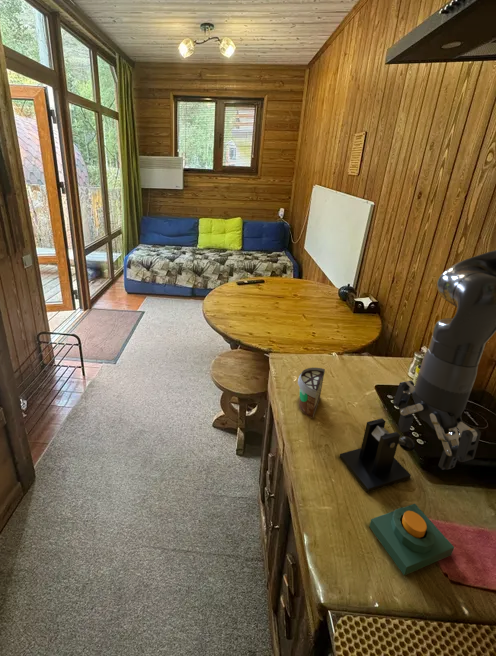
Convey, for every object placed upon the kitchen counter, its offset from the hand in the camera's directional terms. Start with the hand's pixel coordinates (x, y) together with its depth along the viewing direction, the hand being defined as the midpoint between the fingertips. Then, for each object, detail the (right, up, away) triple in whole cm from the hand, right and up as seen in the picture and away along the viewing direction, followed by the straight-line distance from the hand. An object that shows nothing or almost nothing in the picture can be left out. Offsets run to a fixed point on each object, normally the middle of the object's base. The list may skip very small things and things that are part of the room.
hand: (422, 447), depth 59 cm
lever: (+1, -6, +12) cm, 14 cm away
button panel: (-3, -17, -1) cm, 17 cm away
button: (-3, -14, -2) cm, 14 cm away
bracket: (-3, -12, +13) cm, 18 cm away
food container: (-12, -6, +33) cm, 35 cm away
